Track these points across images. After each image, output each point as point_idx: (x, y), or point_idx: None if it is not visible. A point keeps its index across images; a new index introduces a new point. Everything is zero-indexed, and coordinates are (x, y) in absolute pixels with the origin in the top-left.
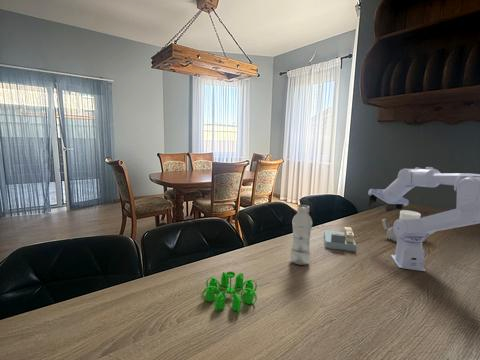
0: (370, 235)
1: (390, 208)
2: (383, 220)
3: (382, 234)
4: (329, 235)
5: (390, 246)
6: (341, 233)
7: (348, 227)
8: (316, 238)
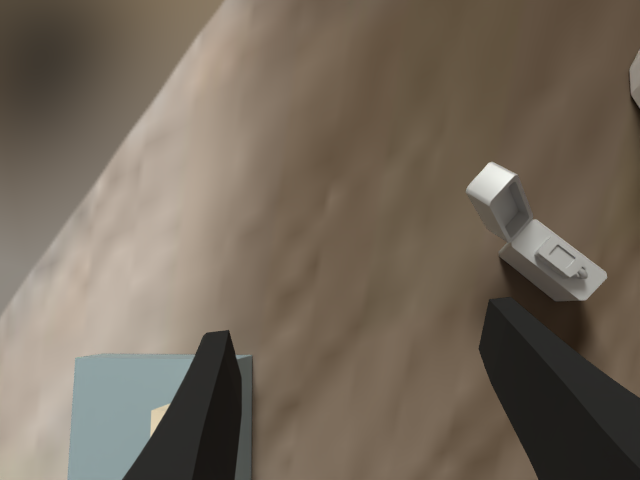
0: (392, 237)
1: (536, 456)
2: (482, 203)
3: None
4: (93, 458)
5: (498, 420)
6: (170, 390)
7: None
8: (60, 419)
